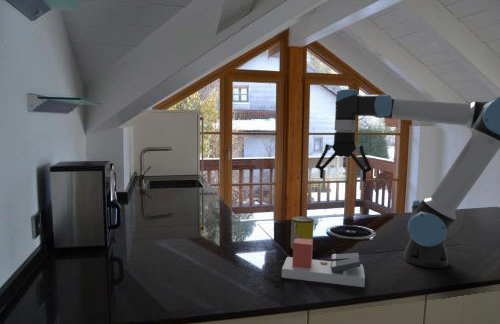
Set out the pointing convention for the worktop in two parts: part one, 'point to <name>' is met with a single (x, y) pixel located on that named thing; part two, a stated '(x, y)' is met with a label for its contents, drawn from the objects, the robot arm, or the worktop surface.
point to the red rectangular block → (302, 253)
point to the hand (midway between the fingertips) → (342, 188)
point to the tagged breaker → (343, 256)
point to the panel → (324, 273)
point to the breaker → (345, 264)
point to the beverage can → (301, 228)
